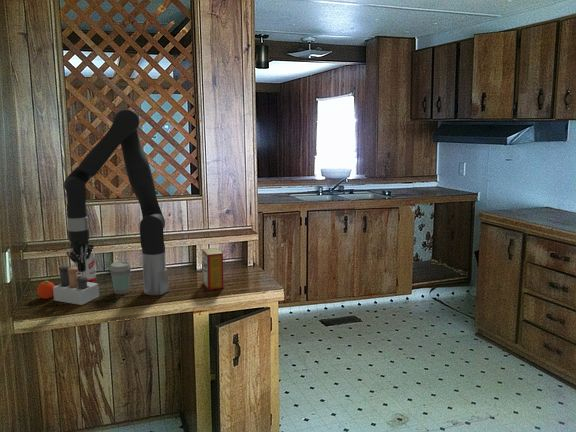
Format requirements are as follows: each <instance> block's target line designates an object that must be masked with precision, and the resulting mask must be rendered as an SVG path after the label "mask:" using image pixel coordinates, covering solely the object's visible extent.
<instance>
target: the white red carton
mask: <svg viewBox="0 0 576 432" xmlns="http://www.w3.org/2000/svg"><path fill="white" fill-rule="evenodd" d="M85 264H86V271H84V272H80V277H87V278H88V280H87V282H91V283H96V281H97V271H96V256H95V252H94V253H91V254H90V257H89V259H87V260H86V262H85Z"/></svg>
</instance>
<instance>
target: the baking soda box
mask: <svg viewBox="0 0 576 432" xmlns="http://www.w3.org/2000/svg"><path fill="white" fill-rule="evenodd" d="M201 256H202V257H201V259H202V260H201V261H202V285H203V286H204V285H205V286H204V287H205V288H206V290H207V291H208V290H210V291H214V290H213V289H217V290H222V289H221V288H223V289H224V253H223V252H222V251H221V250H220V249H219V248H218V247H212V248H203V249H201Z"/></svg>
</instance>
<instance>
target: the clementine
mask: <svg viewBox="0 0 576 432" xmlns="http://www.w3.org/2000/svg"><path fill="white" fill-rule="evenodd" d="M55 286H56V285H55V284H54V282H51V281H49V280H44V281H42V282H41V283H39V284H38V286H37V288H36V293H37V295H38V296H39V297H40V298H41V299H44V300H47V299H51V298H52V297H54V293H53V287H55Z"/></svg>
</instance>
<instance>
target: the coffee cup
mask: <svg viewBox="0 0 576 432" xmlns="http://www.w3.org/2000/svg"><path fill="white" fill-rule="evenodd" d="M130 263H131V262H129V261H116V262H112V263H111V264H110V267H109V271H110V274H111V276H110V277H111V280H112V281H111V282H112V286H113V287H112V288H113V291H114V294H117V295H124V294H127V293H129V291H130V285H131V284H130V283H131V282H130V281H131V269H132V265H131V264H130Z"/></svg>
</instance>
